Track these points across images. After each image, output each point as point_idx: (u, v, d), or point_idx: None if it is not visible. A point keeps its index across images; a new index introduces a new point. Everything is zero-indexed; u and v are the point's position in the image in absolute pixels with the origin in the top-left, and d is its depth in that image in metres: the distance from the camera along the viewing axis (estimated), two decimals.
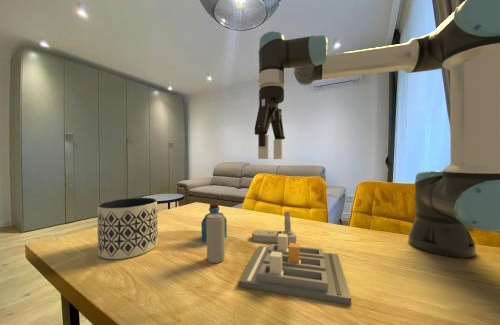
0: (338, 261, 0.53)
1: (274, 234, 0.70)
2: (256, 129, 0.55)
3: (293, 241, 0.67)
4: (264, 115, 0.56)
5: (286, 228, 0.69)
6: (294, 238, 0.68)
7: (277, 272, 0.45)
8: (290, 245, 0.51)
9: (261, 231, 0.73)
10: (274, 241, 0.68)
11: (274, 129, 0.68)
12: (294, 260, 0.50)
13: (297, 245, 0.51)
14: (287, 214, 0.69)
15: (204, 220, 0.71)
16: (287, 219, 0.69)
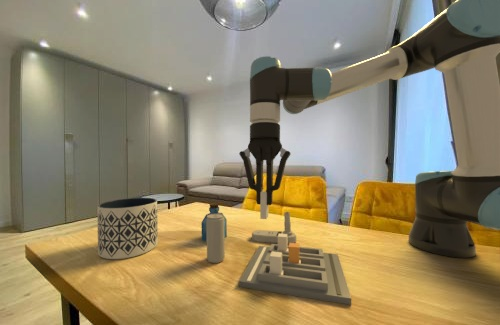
0: (338, 261, 0.53)
1: (274, 234, 0.69)
2: None
3: (293, 241, 0.67)
4: None
5: (286, 228, 0.69)
6: (294, 238, 0.67)
7: (277, 272, 0.45)
8: (290, 245, 0.51)
9: (261, 231, 0.73)
10: (274, 241, 0.68)
11: None
12: (294, 260, 0.50)
13: (297, 245, 0.51)
14: (287, 214, 0.69)
15: (204, 220, 0.71)
16: (287, 219, 0.69)
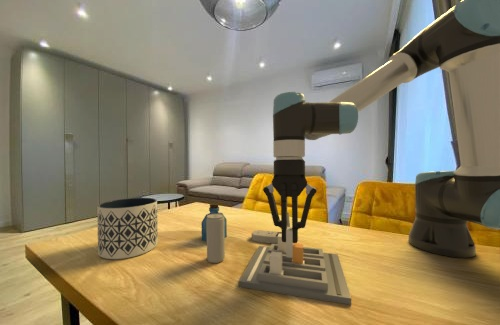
0: (338, 261, 0.53)
1: (273, 235, 0.69)
2: None
3: None
4: (270, 208, 0.52)
5: None
6: None
7: (277, 272, 0.45)
8: (294, 245, 0.51)
9: (261, 232, 0.72)
10: (273, 242, 0.68)
11: None
12: (298, 260, 0.50)
13: (301, 245, 0.51)
14: None
15: (204, 220, 0.71)
16: None
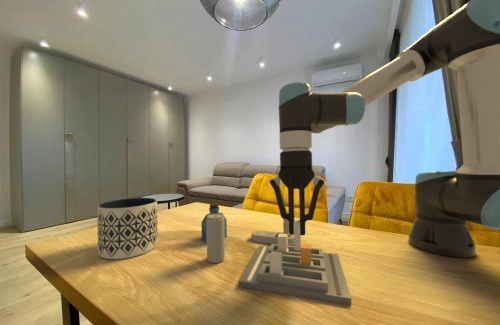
0: (338, 261, 0.53)
1: (272, 235, 0.69)
2: None
3: (291, 243, 0.66)
4: (277, 201, 0.51)
5: (284, 230, 0.67)
6: (292, 240, 0.66)
7: (277, 272, 0.45)
8: (302, 246, 0.50)
9: (260, 232, 0.72)
10: (272, 242, 0.67)
11: None
12: (306, 261, 0.49)
13: (309, 246, 0.50)
14: None
15: (204, 220, 0.71)
16: (285, 221, 0.67)
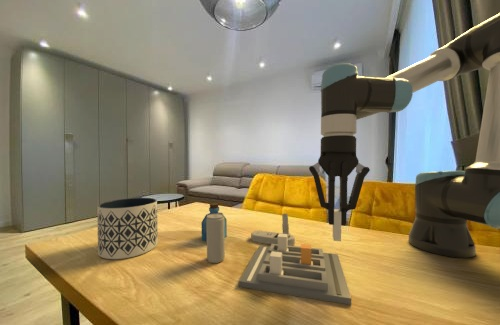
0: (338, 261, 0.53)
1: (271, 236, 0.68)
2: None
3: (289, 244, 0.65)
4: None
5: (283, 230, 0.67)
6: (291, 241, 0.65)
7: (277, 272, 0.45)
8: (302, 246, 0.50)
9: (260, 232, 0.72)
10: (270, 243, 0.67)
11: (340, 191, 0.49)
12: (306, 261, 0.49)
13: (309, 246, 0.50)
14: (284, 216, 0.66)
15: (204, 220, 0.71)
16: (284, 221, 0.66)
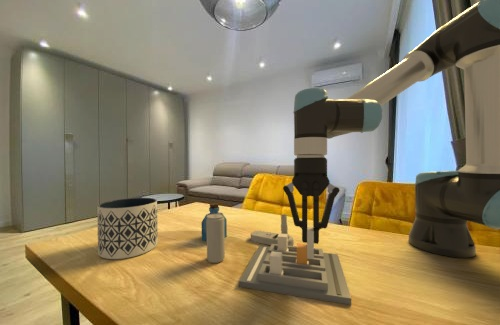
0: (338, 261, 0.53)
1: (270, 236, 0.68)
2: None
3: None
4: None
5: (282, 231, 0.66)
6: (289, 243, 0.64)
7: (277, 272, 0.45)
8: (298, 246, 0.50)
9: (260, 232, 0.72)
10: (269, 243, 0.66)
11: None
12: (302, 261, 0.49)
13: (305, 246, 0.50)
14: (283, 217, 0.66)
15: (204, 220, 0.71)
16: (283, 222, 0.66)
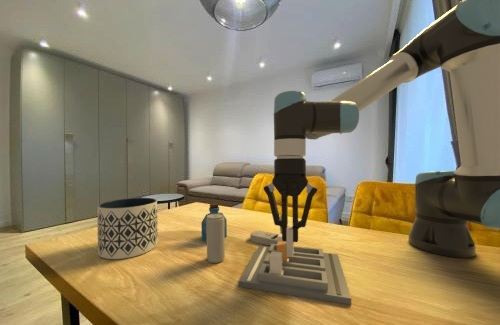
0: (338, 261, 0.53)
1: (269, 237, 0.67)
2: None
3: None
4: (270, 207, 0.52)
5: (281, 232, 0.65)
6: None
7: (277, 272, 0.45)
8: (278, 244, 0.52)
9: (260, 232, 0.72)
10: (268, 244, 0.66)
11: None
12: (282, 259, 0.51)
13: (285, 244, 0.52)
14: None
15: (204, 220, 0.71)
16: None
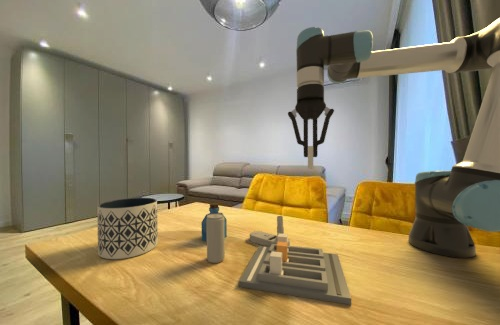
0: (338, 261, 0.53)
1: (267, 237, 0.67)
2: None
3: None
4: (294, 129, 0.61)
5: (277, 233, 0.64)
6: None
7: (277, 272, 0.45)
8: (278, 244, 0.52)
9: (259, 233, 0.71)
10: (264, 244, 0.66)
11: None
12: (282, 259, 0.51)
13: (285, 244, 0.52)
14: (278, 218, 0.64)
15: (204, 220, 0.71)
16: (278, 224, 0.64)
